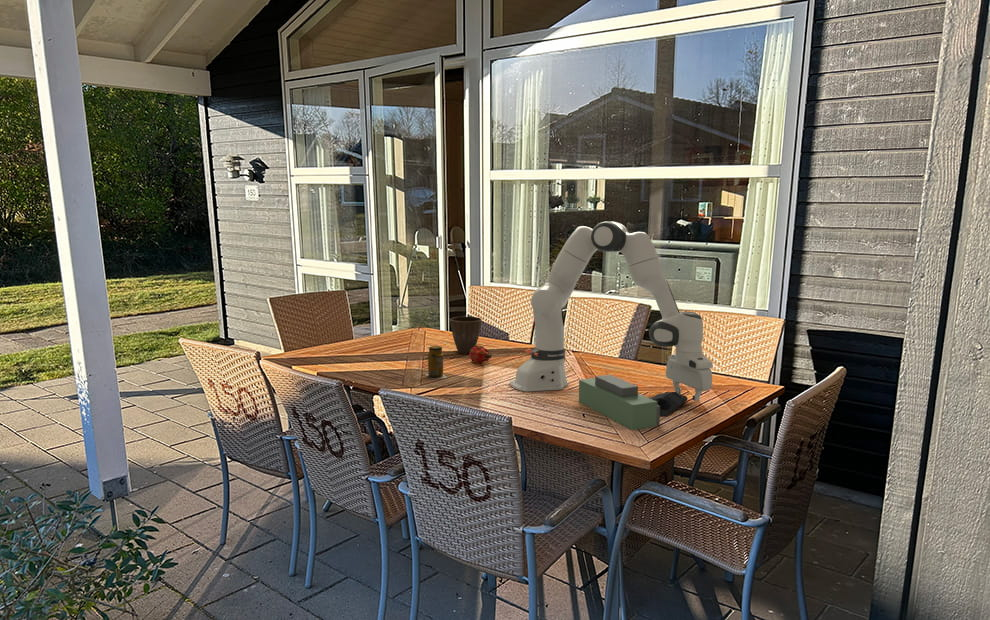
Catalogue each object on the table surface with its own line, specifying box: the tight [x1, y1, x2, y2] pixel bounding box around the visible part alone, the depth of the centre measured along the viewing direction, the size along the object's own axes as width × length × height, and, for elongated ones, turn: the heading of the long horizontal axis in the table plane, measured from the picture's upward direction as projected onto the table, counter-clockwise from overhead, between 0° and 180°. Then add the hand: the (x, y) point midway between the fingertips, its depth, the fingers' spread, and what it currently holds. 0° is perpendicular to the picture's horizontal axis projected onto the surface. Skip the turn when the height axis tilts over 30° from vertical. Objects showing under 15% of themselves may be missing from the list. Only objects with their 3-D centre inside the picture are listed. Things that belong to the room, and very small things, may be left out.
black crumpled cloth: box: [649, 391, 689, 417], centre depth 221 cm, size 15×22×5 cm
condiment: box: [424, 345, 448, 380], centre depth 259 cm, size 7×8×12 cm
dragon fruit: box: [467, 344, 492, 365], centre depth 282 cm, size 8×8×12 cm
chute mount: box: [578, 374, 661, 431], centre depth 212 cm, size 11×32×11 cm, turn 23°
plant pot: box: [449, 316, 483, 355], centre depth 303 cm, size 15×15×16 cm
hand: (686, 397), depth 224 cm, fingers open, 8 cm apart
